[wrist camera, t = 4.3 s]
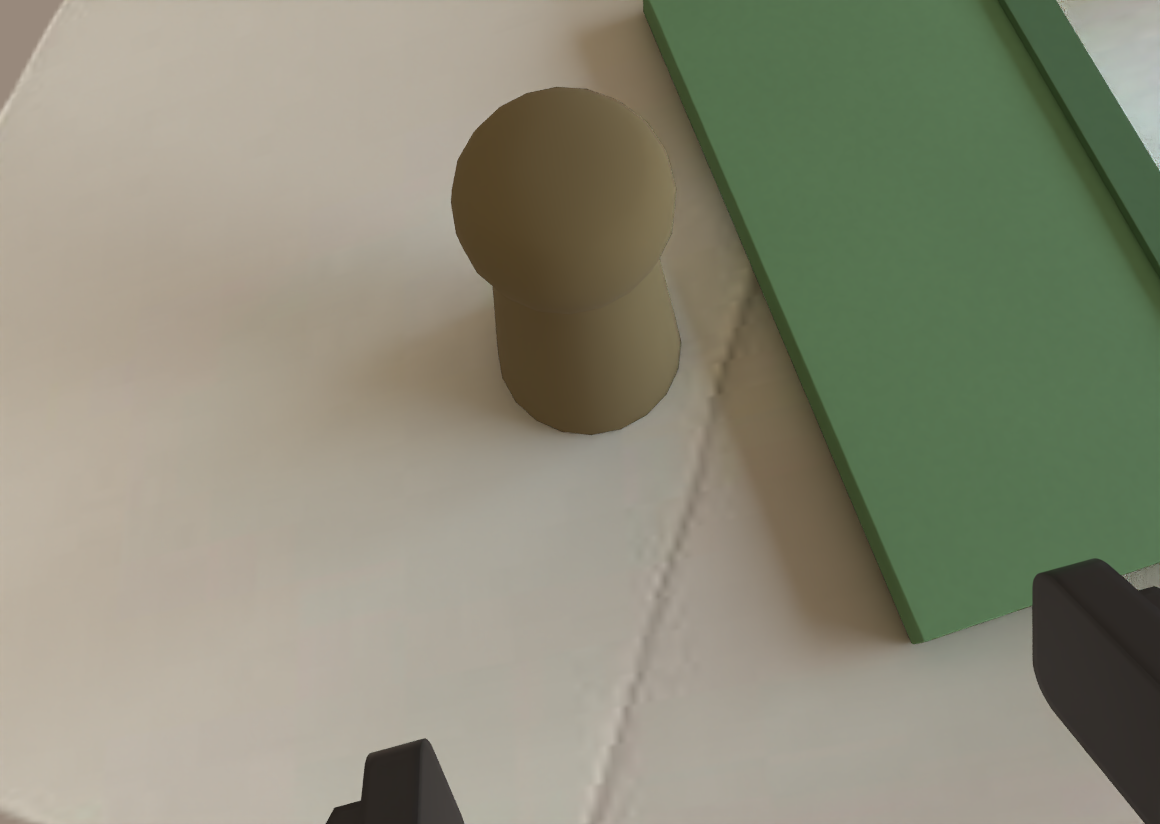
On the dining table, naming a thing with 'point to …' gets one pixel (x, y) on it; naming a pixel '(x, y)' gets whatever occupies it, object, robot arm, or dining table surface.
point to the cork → (573, 255)
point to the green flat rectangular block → (946, 275)
